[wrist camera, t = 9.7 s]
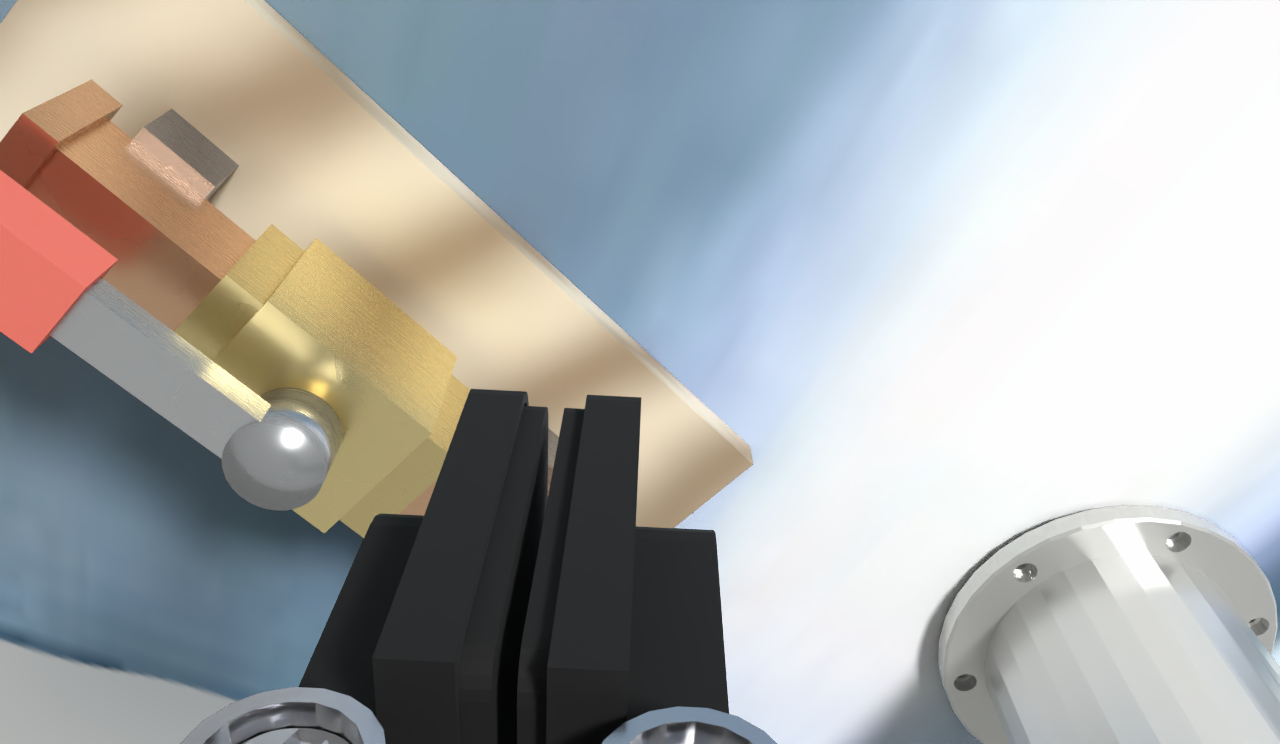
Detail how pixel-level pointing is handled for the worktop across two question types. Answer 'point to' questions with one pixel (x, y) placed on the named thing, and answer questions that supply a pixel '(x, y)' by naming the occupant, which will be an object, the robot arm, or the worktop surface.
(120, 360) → the valve lever
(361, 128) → the board
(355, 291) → the valve body
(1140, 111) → the worktop surface
